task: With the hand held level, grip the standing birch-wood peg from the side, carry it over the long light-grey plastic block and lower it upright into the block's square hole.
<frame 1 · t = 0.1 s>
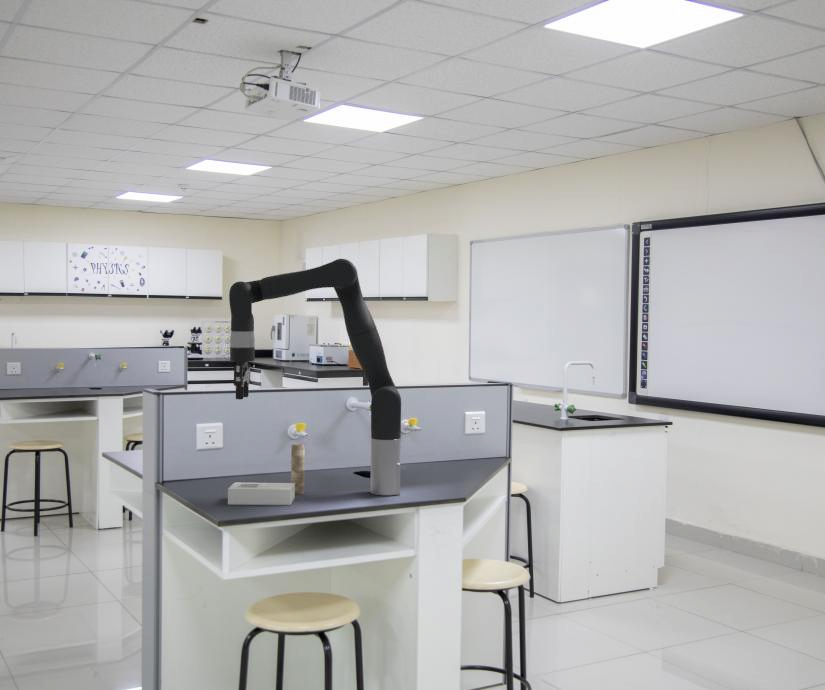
hand: (242, 398, 262), 29 cm above the table, fingers open, 8 cm apart
hole block: (261, 501, 248), on the table
birch peg: (297, 493, 260), on the table
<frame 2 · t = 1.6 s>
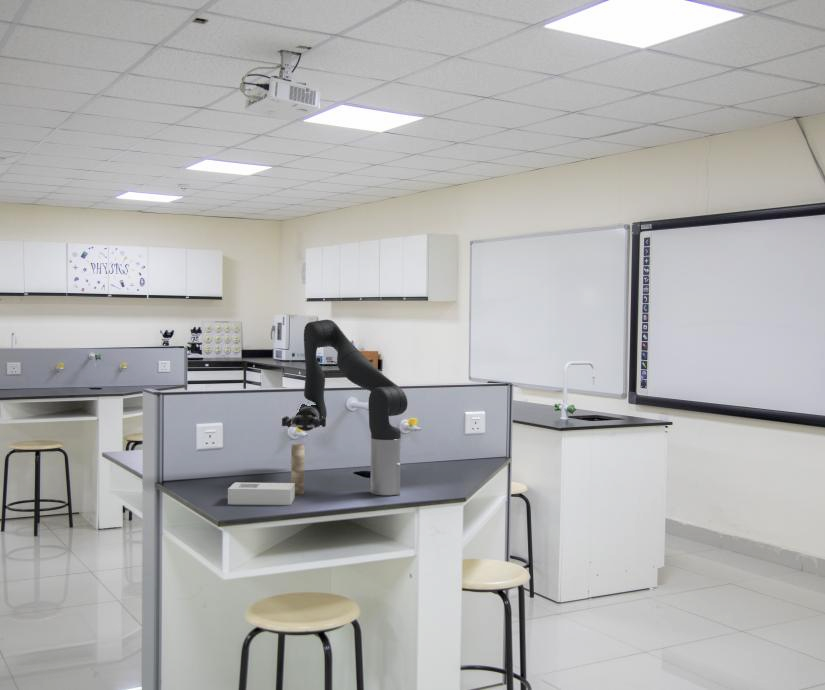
hand: (302, 424, 271), 20 cm above the table, fingers open, 8 cm apart
nothing on the table moved.
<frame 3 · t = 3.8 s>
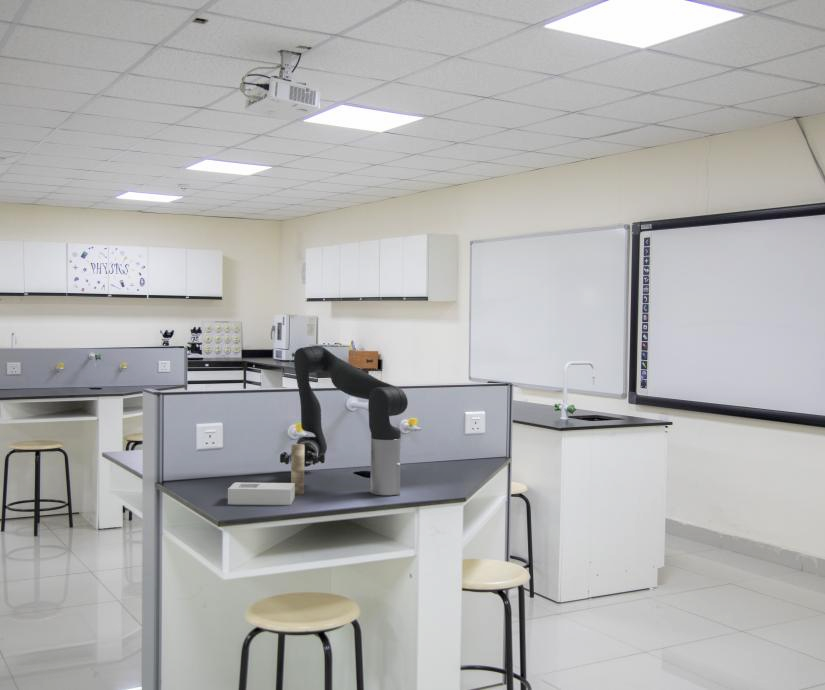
hand: (300, 461, 266), 9 cm above the table, fingers open, 8 cm apart
nothing on the table moved.
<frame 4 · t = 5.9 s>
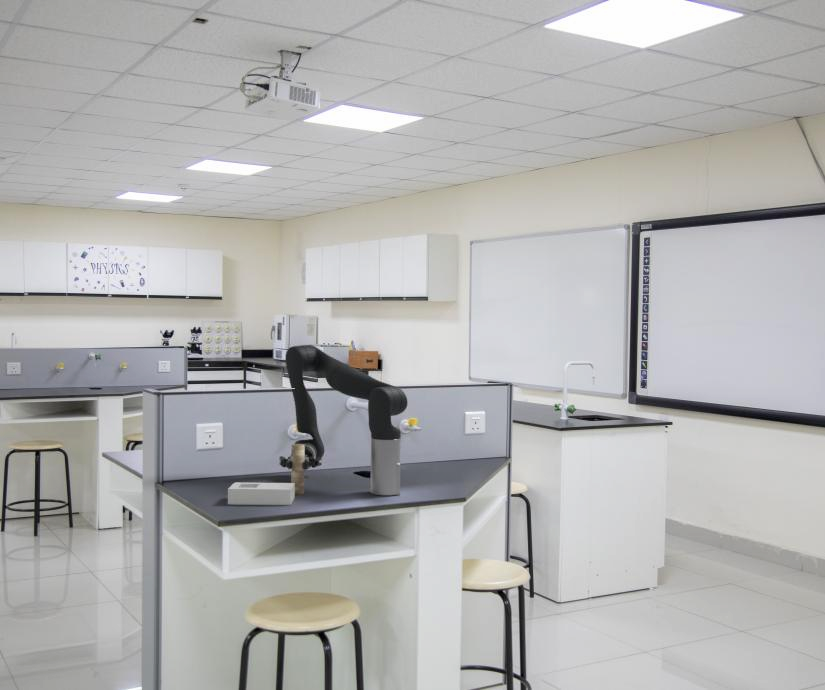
hand: (296, 465, 257), 9 cm above the table, fingers closed on birch peg, 4 cm apart
birch peg: (297, 493, 260), on the table, touching gripper
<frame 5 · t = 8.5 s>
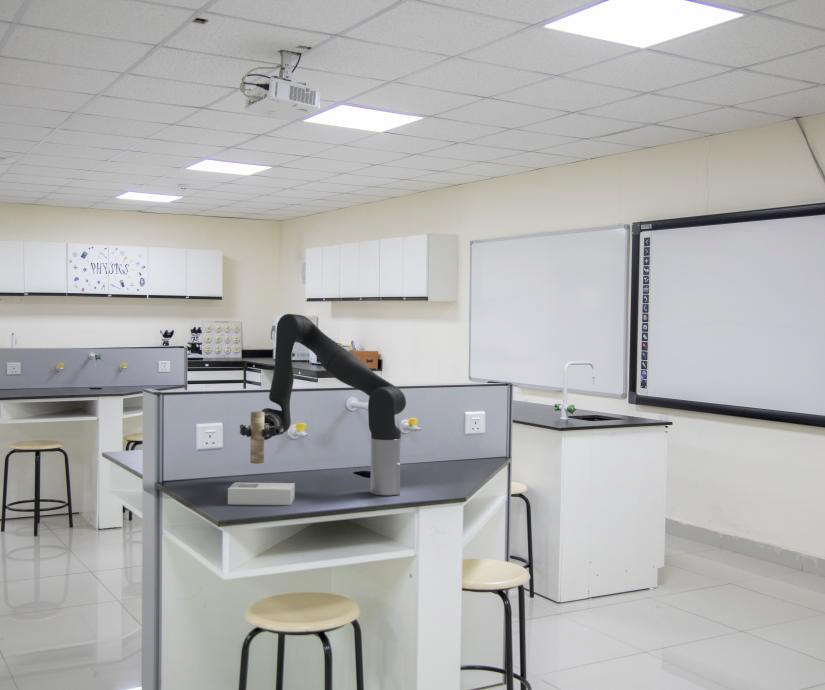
hand: (255, 433, 248), 20 cm above the table, fingers closed on birch peg, 4 cm apart
birch peg: (257, 462, 251), point 11 cm above the table, touching gripper
when the fingers open (11 cm above the table, at t = 11.0 s): birch peg drops 2 cm, resting in hole block.
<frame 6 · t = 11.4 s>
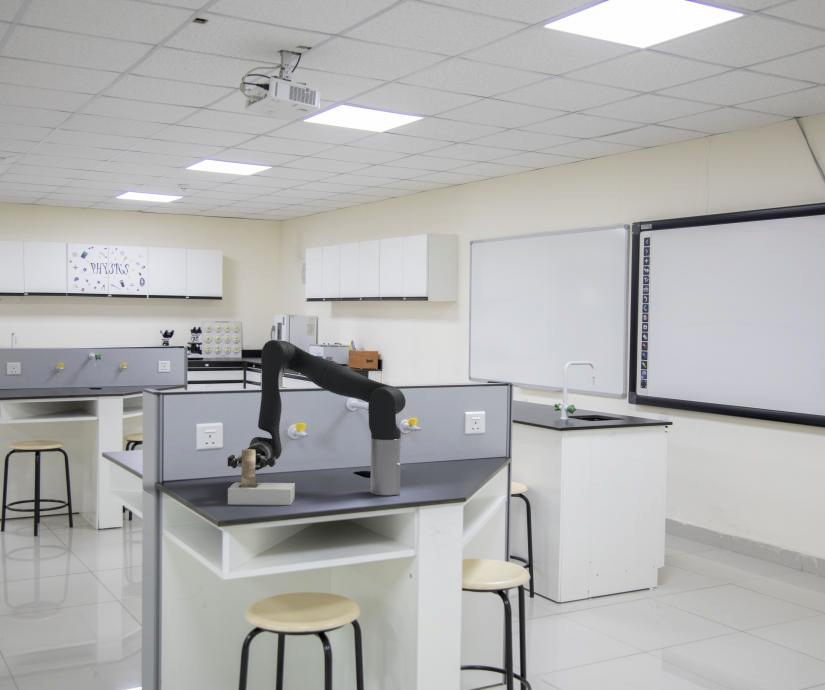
hand: (247, 464, 246), 11 cm above the table, fingers open, 7 cm apart
birch peg: (248, 500, 248), resting in hole block
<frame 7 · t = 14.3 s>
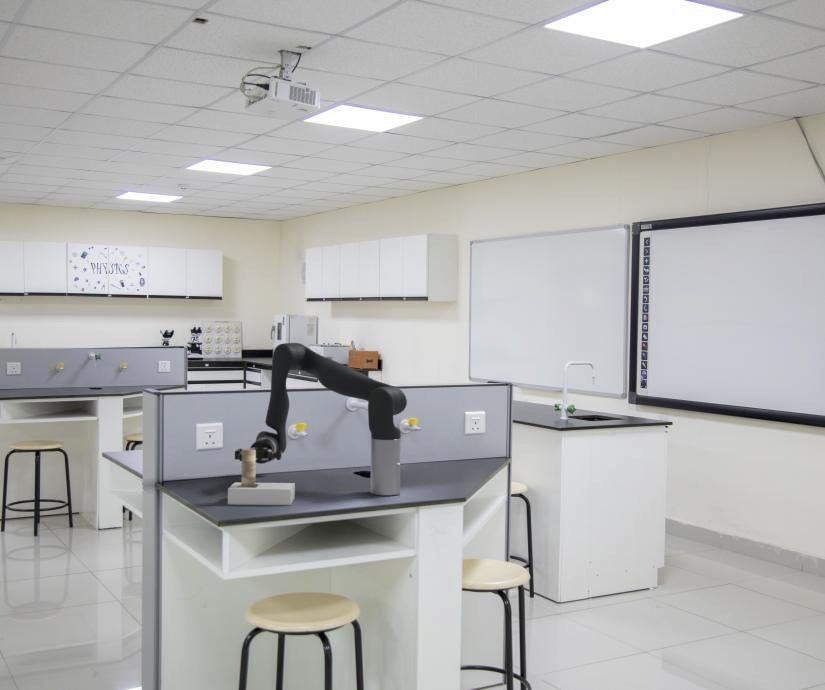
hand: (254, 458, 259), 11 cm above the table, fingers open, 8 cm apart
nothing on the table moved.
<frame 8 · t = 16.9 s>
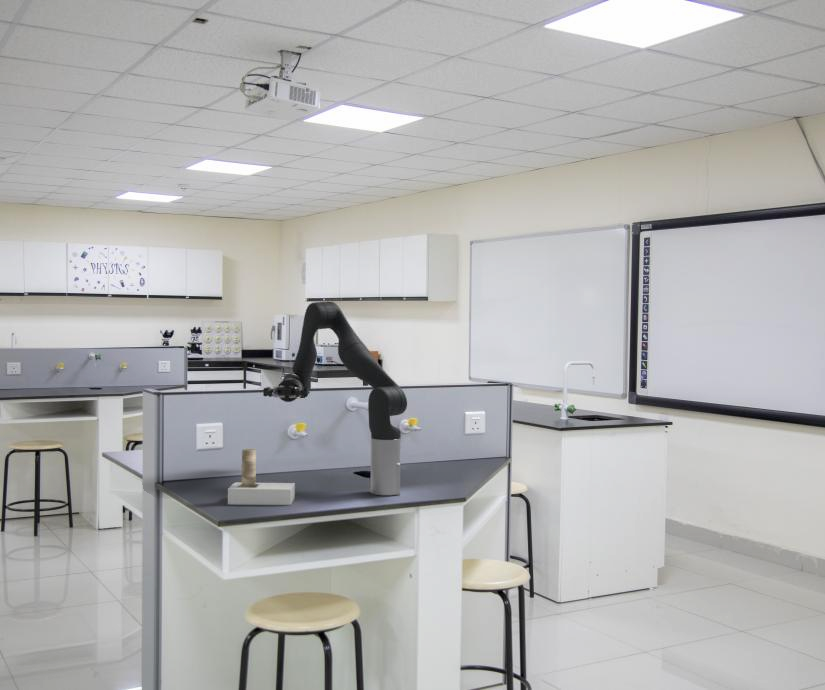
hand: (283, 393, 269), 30 cm above the table, fingers open, 8 cm apart
nothing on the table moved.
at the end: birch peg 0.1 cm from the target spot on the hole block, point 0.0 cm above the hole block's base; birch peg tilted 0°; the gripper is holding nothing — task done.
